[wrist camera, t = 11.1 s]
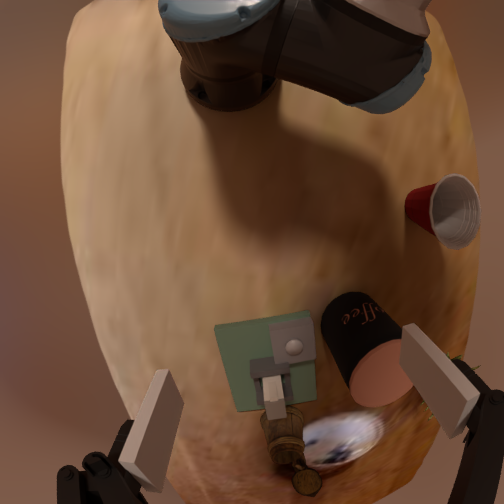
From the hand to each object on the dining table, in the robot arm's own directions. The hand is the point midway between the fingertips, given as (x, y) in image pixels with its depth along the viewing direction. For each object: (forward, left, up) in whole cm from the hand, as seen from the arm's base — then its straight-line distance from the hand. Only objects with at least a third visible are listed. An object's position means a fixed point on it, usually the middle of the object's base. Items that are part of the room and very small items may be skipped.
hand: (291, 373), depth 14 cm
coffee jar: (+15, +13, -31) cm, 37 cm away
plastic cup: (-3, +28, -31) cm, 42 cm away
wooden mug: (+40, -1, -31) cm, 50 cm away
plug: (+23, -2, -29) cm, 37 cm away
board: (+22, -2, -31) cm, 38 cm away
